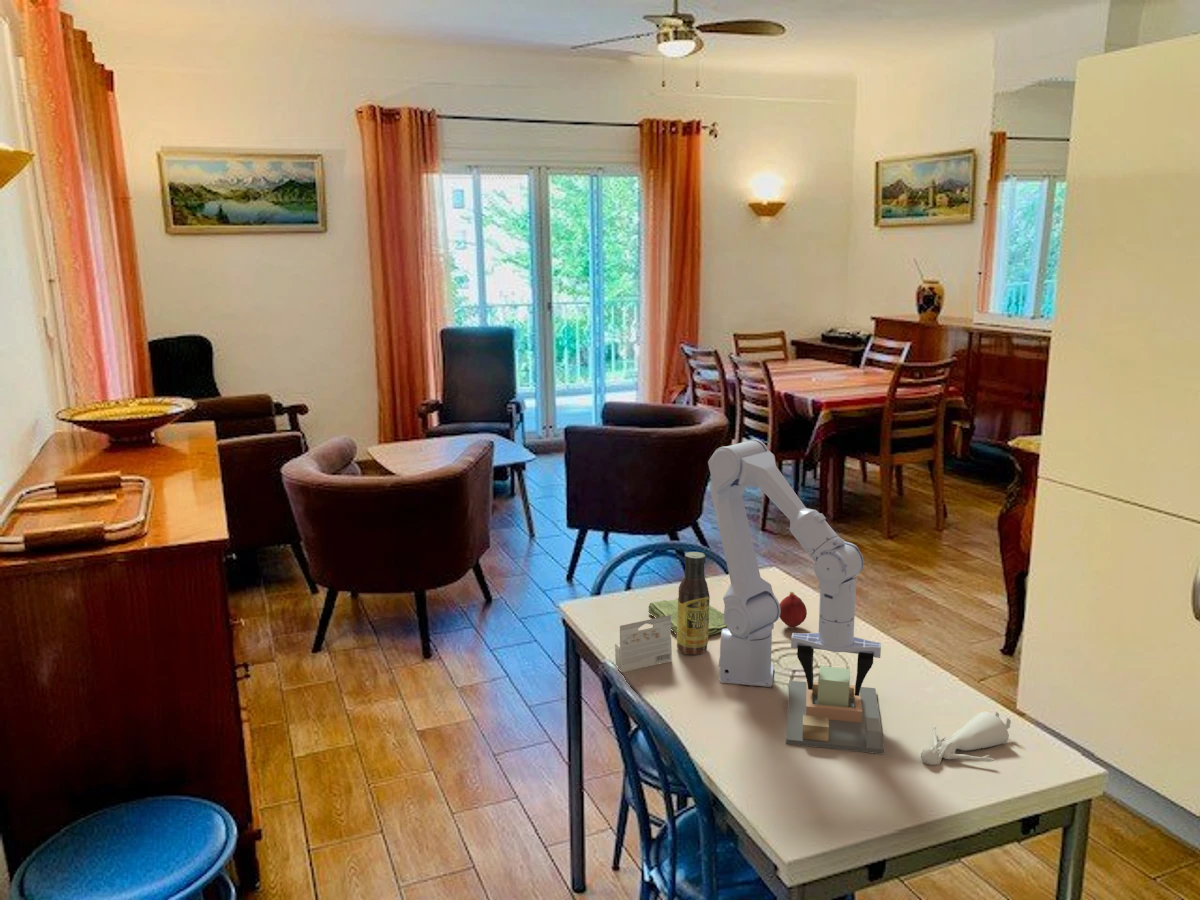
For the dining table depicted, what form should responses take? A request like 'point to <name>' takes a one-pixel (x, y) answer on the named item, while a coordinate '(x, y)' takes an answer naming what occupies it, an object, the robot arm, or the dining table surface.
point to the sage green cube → (833, 686)
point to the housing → (836, 719)
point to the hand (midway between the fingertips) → (833, 689)
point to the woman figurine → (969, 739)
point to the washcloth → (671, 609)
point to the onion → (792, 610)
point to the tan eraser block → (815, 728)
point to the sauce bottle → (693, 607)
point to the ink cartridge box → (644, 644)
